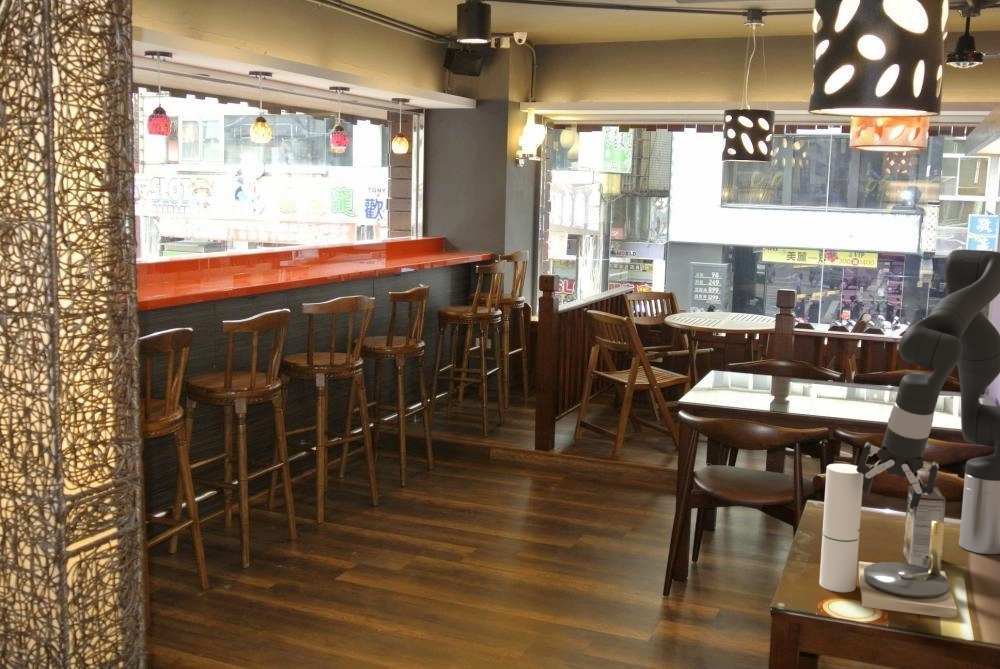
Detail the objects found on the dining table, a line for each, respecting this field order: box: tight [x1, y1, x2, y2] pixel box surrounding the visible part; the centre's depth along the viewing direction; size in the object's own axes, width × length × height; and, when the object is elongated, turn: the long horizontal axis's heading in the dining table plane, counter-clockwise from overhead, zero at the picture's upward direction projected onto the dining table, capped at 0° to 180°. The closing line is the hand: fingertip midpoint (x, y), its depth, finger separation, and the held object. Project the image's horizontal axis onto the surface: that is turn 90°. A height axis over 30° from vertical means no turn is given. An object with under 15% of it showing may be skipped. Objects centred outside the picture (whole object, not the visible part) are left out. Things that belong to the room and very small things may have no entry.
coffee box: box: [903, 485, 946, 568], centre depth 221 cm, size 9×6×16 cm
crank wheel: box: [863, 520, 949, 598], centre depth 204 cm, size 16×16×12 cm
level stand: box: [857, 560, 958, 619], centre depth 205 cm, size 20×17×2 cm
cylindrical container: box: [818, 463, 864, 593], centre depth 207 cm, size 7×7×25 cm
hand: (888, 499), depth 198 cm, fingers open, 8 cm apart
